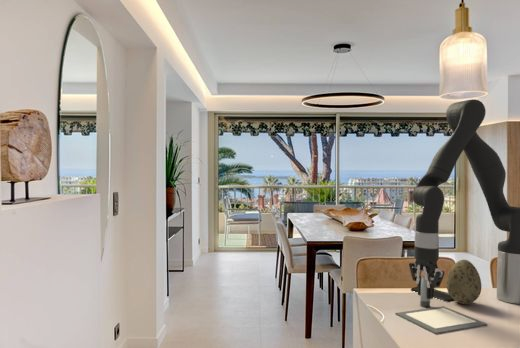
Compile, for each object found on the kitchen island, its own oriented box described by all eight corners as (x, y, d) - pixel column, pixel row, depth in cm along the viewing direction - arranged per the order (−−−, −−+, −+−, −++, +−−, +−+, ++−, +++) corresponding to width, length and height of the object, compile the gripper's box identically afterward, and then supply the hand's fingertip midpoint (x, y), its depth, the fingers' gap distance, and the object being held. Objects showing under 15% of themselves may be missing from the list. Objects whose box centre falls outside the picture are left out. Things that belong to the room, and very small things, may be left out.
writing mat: (443, 307, 131) (443, 305, 131) (487, 325, 117) (487, 323, 117) (395, 314, 124) (395, 312, 124) (435, 334, 109) (435, 332, 109)
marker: (425, 304, 134) (425, 268, 134) (432, 307, 131) (433, 271, 131) (417, 305, 133) (418, 269, 133) (425, 308, 130) (425, 271, 130)
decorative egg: (488, 307, 132) (489, 262, 132) (460, 309, 130) (461, 263, 130) (465, 297, 142) (466, 256, 142) (439, 299, 140) (440, 256, 140)
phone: (422, 285, 154) (459, 296, 141) (422, 288, 154) (459, 299, 141) (409, 288, 150) (446, 299, 137) (409, 291, 150) (445, 303, 137)
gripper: (452, 248, 127) (451, 302, 127) (419, 241, 140) (418, 289, 140) (434, 250, 124) (433, 304, 124) (402, 242, 137) (401, 291, 137)
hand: (425, 296), depth 132 cm, fingers open, 3 cm apart
